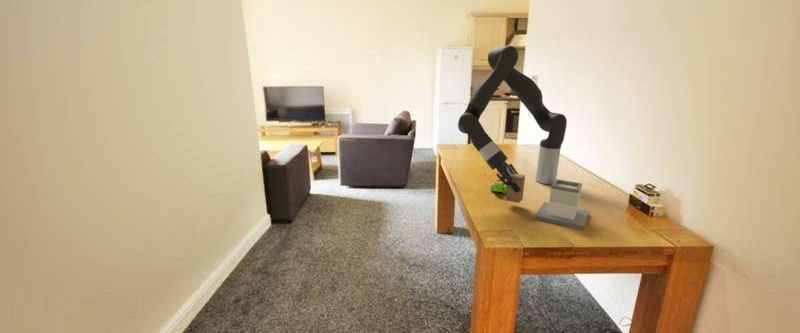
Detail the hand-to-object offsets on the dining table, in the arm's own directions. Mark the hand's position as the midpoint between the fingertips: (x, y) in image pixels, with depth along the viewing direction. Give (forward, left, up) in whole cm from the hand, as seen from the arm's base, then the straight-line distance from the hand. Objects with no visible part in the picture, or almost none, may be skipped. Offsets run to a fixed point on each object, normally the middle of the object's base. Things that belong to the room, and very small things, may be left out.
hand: (520, 189), depth 139 cm
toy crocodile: (-17, -12, -8) cm, 23 cm away
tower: (0, +16, -7) cm, 18 cm away
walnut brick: (0, -2, -5) cm, 5 cm away
